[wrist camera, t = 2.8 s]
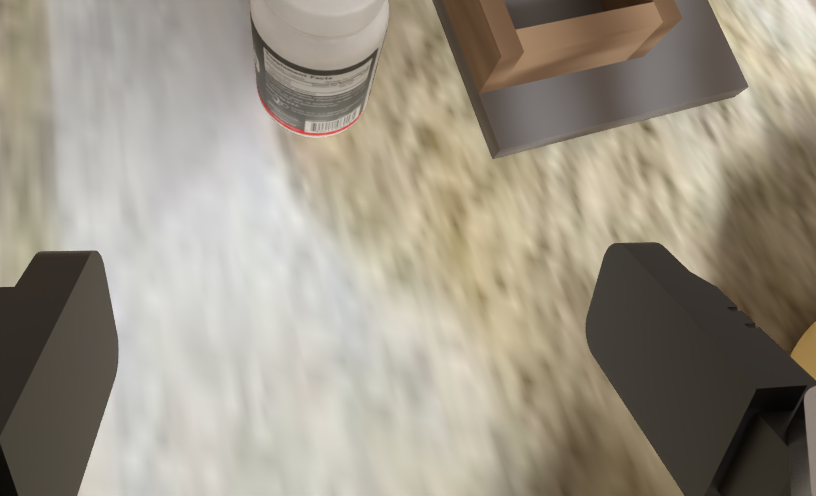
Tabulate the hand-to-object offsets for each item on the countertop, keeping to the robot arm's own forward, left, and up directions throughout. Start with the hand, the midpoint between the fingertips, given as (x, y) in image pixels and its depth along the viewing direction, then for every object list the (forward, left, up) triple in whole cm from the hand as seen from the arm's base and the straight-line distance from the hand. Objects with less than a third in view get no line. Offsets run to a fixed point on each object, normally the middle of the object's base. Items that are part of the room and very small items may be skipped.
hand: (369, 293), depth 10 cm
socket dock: (+16, +13, -15) cm, 26 cm away
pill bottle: (+3, +11, -15) cm, 19 cm away
